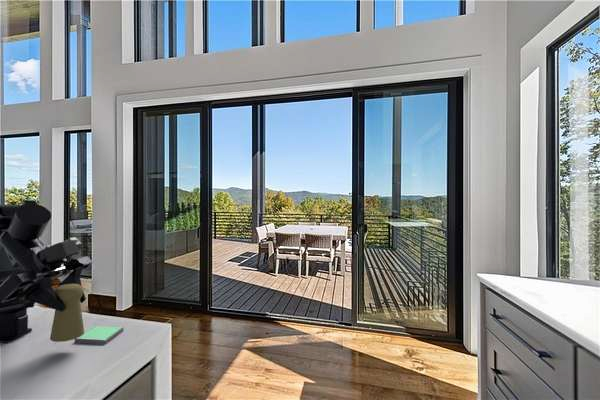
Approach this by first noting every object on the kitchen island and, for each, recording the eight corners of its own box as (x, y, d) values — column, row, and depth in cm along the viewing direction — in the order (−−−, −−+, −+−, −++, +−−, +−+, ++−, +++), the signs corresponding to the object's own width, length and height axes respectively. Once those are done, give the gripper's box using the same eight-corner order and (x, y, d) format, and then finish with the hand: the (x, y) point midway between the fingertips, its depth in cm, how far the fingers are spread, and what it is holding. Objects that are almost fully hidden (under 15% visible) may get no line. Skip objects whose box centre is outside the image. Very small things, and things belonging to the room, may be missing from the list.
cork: (66, 343, 65) (67, 290, 65) (42, 339, 66) (43, 287, 66) (91, 331, 71) (92, 282, 71) (68, 327, 72) (69, 280, 72)
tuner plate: (74, 342, 72) (74, 338, 72) (95, 329, 79) (95, 325, 79) (105, 344, 72) (105, 340, 72) (123, 330, 79) (123, 327, 79)
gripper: (10, 232, 59) (63, 295, 58) (86, 223, 78) (127, 270, 77) (-29, 271, 60) (23, 333, 59) (56, 253, 79) (96, 300, 78)
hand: (74, 305), depth 68 cm, fingers closed on cork, 5 cm apart
